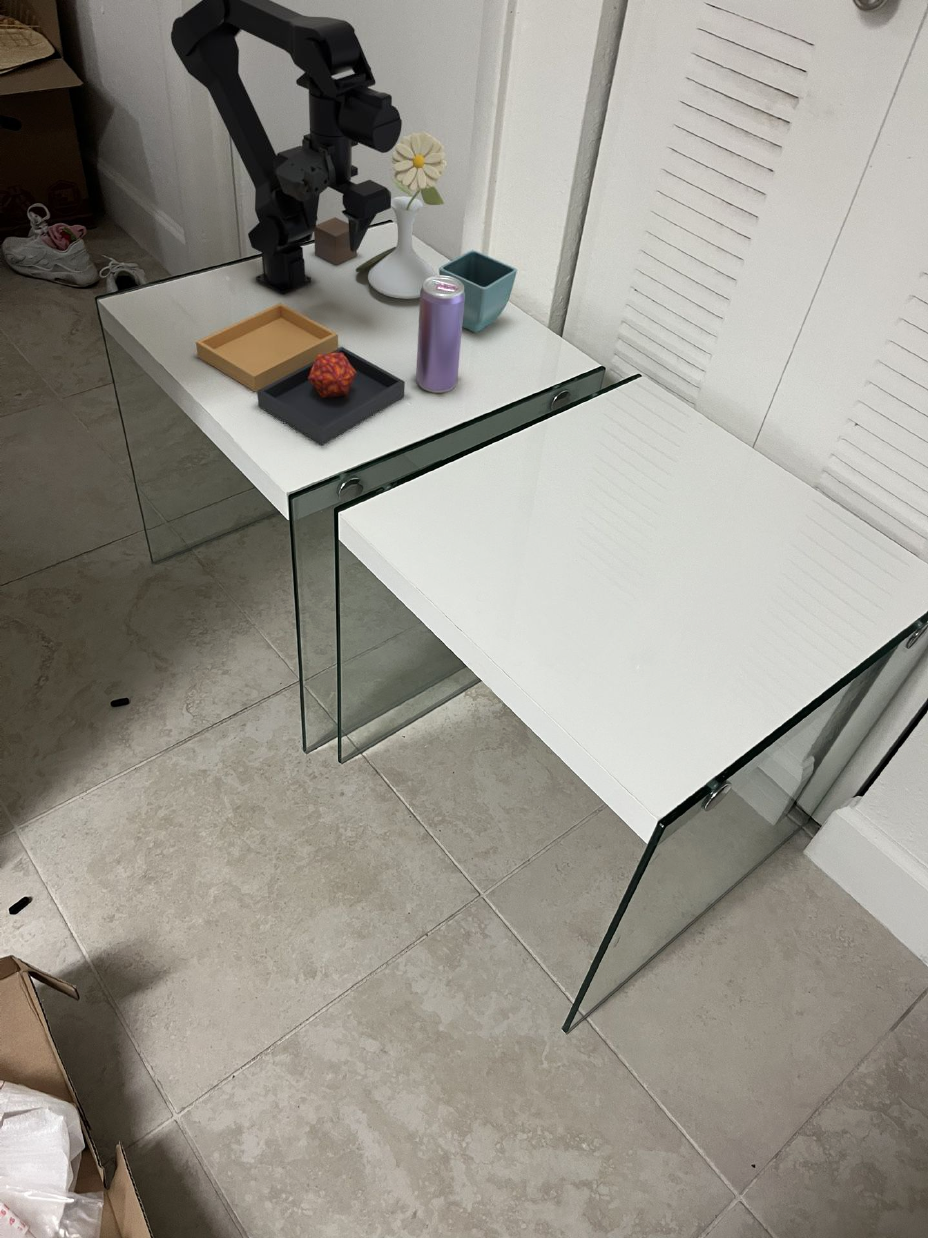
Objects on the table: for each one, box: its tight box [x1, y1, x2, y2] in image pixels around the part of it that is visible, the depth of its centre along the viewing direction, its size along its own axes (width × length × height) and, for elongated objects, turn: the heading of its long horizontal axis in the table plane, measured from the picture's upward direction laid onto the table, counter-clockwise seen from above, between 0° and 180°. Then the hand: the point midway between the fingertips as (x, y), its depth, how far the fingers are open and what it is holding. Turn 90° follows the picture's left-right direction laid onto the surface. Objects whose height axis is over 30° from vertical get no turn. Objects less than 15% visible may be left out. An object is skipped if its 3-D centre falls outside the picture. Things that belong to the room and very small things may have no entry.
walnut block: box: [313, 216, 358, 266], centre depth 158 cm, size 5×5×5 cm
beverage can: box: [415, 274, 465, 394], centre depth 131 cm, size 6×6×15 cm
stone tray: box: [256, 346, 406, 446], centre depth 130 cm, size 12×16×2 cm
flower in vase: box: [367, 130, 447, 300], centre depth 144 cm, size 13×11×25 cm
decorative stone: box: [308, 352, 356, 398], centre depth 130 cm, size 6×7×8 cm
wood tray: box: [195, 302, 339, 393], centre depth 137 cm, size 12×16×2 cm
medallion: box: [355, 245, 397, 273], centre depth 154 cm, size 8×8×1 cm
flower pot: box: [438, 249, 518, 333], centre depth 145 cm, size 9×9×9 cm
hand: (332, 239), depth 140 cm, fingers open, 9 cm apart
